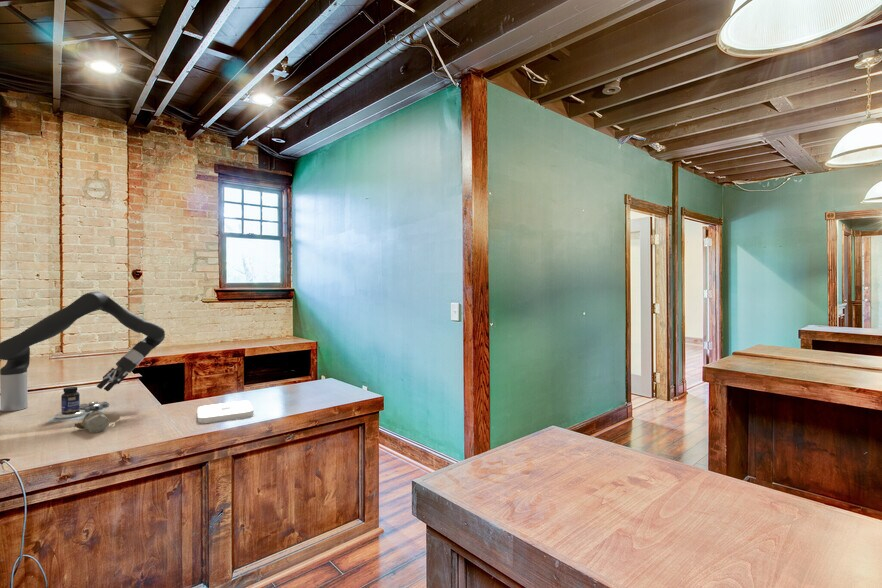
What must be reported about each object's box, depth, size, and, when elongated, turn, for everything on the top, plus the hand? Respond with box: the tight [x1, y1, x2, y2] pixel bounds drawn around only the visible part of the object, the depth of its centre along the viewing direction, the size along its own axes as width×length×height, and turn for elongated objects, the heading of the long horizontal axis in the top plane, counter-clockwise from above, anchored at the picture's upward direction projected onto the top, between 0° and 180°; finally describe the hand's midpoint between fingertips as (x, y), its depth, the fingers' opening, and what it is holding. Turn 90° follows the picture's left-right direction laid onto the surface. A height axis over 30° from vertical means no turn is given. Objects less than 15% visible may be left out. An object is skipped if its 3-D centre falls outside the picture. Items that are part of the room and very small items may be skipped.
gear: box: [80, 401, 110, 412], centre depth 201 cm, size 13×13×3 cm
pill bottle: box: [60, 386, 81, 414], centre depth 189 cm, size 6×6×11 cm
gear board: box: [45, 403, 110, 424], centre depth 193 cm, size 24×17×2 cm
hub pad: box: [54, 410, 85, 419], centre depth 189 cm, size 10×10×1 cm
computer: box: [197, 400, 254, 424], centre depth 196 cm, size 22×22×3 cm
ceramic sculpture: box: [74, 409, 110, 434], centre depth 174 cm, size 11×9×15 cm
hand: (102, 389), depth 198 cm, fingers open, 8 cm apart
